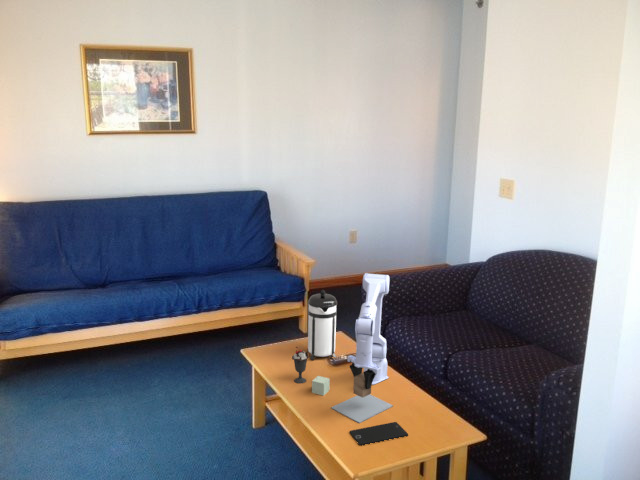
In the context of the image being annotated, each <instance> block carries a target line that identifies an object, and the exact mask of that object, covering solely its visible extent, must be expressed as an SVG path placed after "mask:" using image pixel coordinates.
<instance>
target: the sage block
mask: <svg viewBox="0 0 640 480" xmlns="http://www.w3.org/2000/svg"><path fill="white" fill-rule="evenodd" d="M330 379H331V378H329V377H325V376H320V375H317V376H315V378H313V379H312V380H311V393H312V394H314V395H320V396H325V395H326V394H327V393H328V392H329V391H330V385H331V384H330Z"/></svg>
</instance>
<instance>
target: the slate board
mask: <svg viewBox="0 0 640 480" xmlns="http://www.w3.org/2000/svg"><path fill="white" fill-rule="evenodd" d="M393 407H394V404H391V403H389V402H387V401H386V400H383V399H381V398H378V397H376V396H375V395H373V394H369V395H367V396H365V397H363V398H362V397H360V396H358V395H355V396H353V397H350V398H348V399H347V400H344V401H341V402H339V403H337V404H335V405H333V406H331V407H330V409H331V410H333V411H335V412H337V413H338V414H342V415H343V416H344V417H346V418H348V419H350V420H352V421H354V422H356V423H357V424H361V423H363V422H365V421H368V420H369V419H371V418H373V417H375V416H377V415H379V414H382V412H384V411H387V410H389V409H391V408H393Z"/></svg>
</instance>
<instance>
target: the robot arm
mask: <svg viewBox="0 0 640 480" xmlns="http://www.w3.org/2000/svg"><path fill="white" fill-rule="evenodd" d="M390 278H391V277H390V276H389V274H379V273H378V274H377V273H376V274H375V273H368V272H365V273H364V274H363V277H362V288H363V290H364V291H365V293H366V297H365V302H364V303H362V304H361V306H360V312H359V315H358V318H357V319H355V326H354V330H355V331H354V333H355V339H356V343H355V344H356V346H355V347H356V348H355V349H356V351H355V355H351V354H350V355H348V356H347V362H349V363H351V364H350V365H349V369H350V371H351V373H352V375H353V377H354V376H357V375H359V374H361V373H363V374H364V377H365V388H366V389H369V388H371V389H372V386H374V385H376V384H379V383H380V382H383V381H385V380H387V379H389V377H390V376H388V360H387V351H388V348H387V345H388V344H387V339H386V338H385V337H383V335H381V326H382V325H381V324H382V323H381V322H382V311H383V310H382V308H383V298H384V296H385V295H388V294H389V291H390Z"/></svg>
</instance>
